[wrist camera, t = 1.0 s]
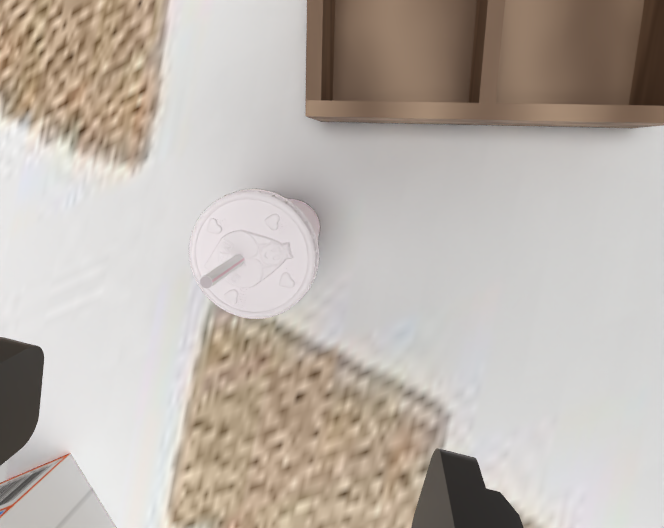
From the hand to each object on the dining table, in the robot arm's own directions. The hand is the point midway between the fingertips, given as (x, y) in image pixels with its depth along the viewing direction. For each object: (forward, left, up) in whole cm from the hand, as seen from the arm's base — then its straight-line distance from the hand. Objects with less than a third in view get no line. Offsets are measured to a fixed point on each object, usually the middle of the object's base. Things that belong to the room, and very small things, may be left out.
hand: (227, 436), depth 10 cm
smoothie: (+4, 0, -24) cm, 25 cm away
